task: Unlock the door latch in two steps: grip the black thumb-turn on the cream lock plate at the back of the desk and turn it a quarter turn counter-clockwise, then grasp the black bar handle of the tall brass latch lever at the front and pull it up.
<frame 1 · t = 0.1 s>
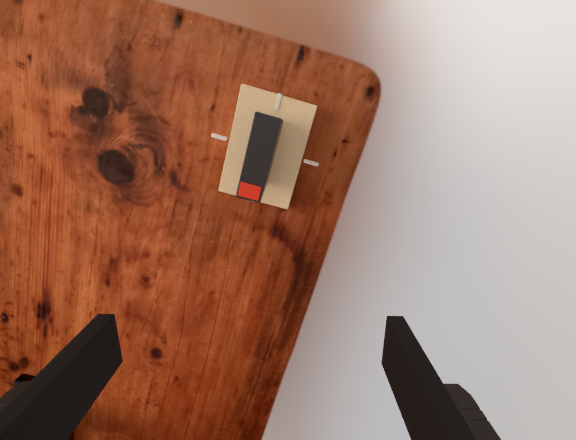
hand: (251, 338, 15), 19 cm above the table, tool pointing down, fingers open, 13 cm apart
lock plate: (267, 148, 31), on the table
thumbturn: (262, 154, 25), point 6 cm above the table, hinge at 0.0°
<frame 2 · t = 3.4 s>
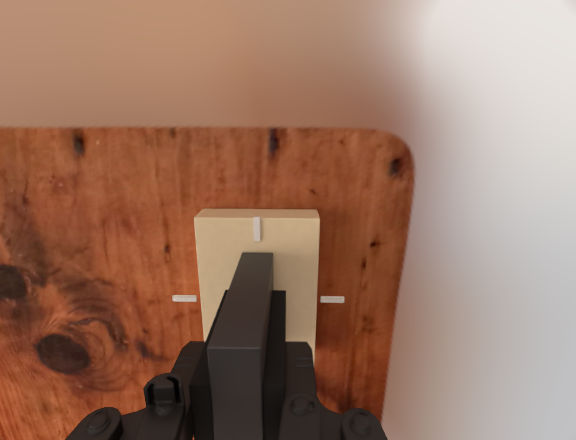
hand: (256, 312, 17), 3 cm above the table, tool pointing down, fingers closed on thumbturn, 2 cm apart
lock plate: (261, 282, 21), on the table
thumbturn: (250, 345, 15), point 6 cm above the table, hinge at 0.0°, touching gripper
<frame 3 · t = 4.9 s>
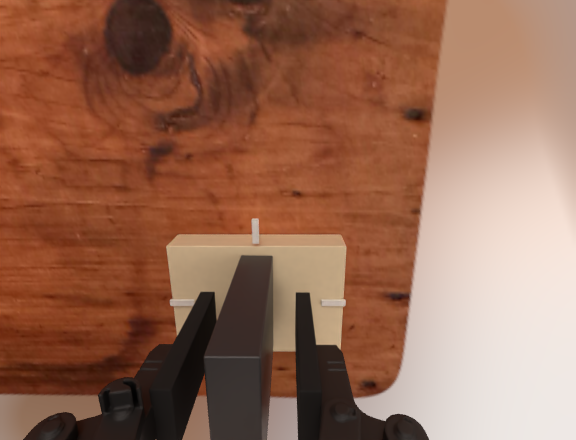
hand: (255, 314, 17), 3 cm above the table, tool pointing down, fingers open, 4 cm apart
lock plate: (260, 285, 20), on the table
thumbturn: (249, 351, 14), point 6 cm above the table, hinge at 89.5°
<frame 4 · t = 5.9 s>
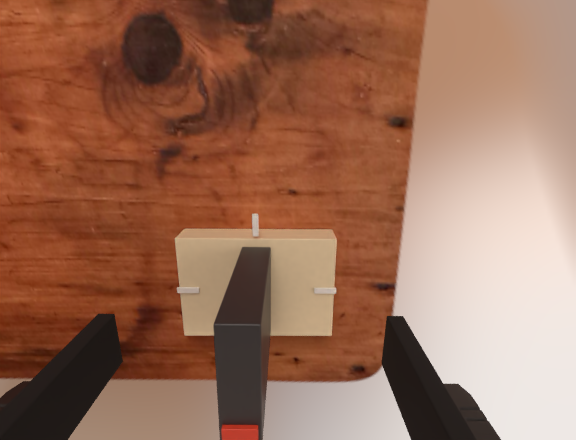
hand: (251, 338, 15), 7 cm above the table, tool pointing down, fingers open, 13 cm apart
lock plate: (259, 275, 22), on the table
thumbturn: (249, 329, 16), point 6 cm above the table, hinge at 89.5°
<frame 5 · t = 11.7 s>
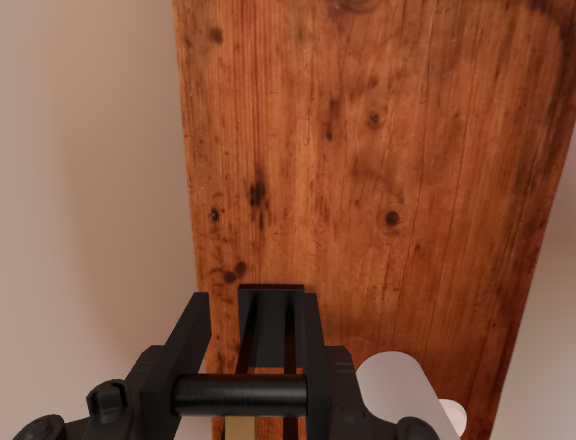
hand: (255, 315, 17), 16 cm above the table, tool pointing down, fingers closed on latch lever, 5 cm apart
figurine: (437, 419, 40), on the table
latch bracket: (272, 323, 35), on the table
light grey cylinder: (388, 378, 38), on the table
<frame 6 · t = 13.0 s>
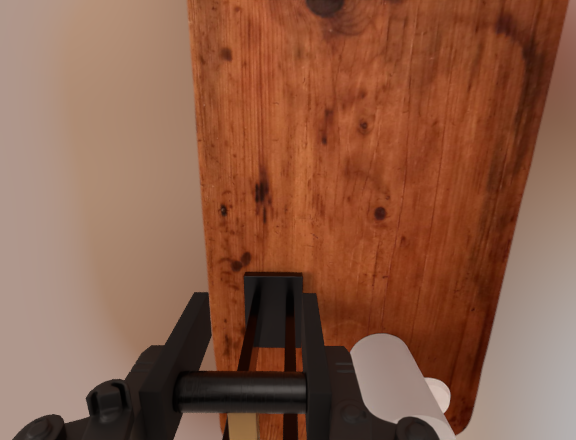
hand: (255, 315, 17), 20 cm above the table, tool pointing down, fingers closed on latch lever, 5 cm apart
figurine: (423, 397, 44), on the table
latch bracket: (273, 308, 40), on the table
light grey cylinder: (378, 358, 42), on the table
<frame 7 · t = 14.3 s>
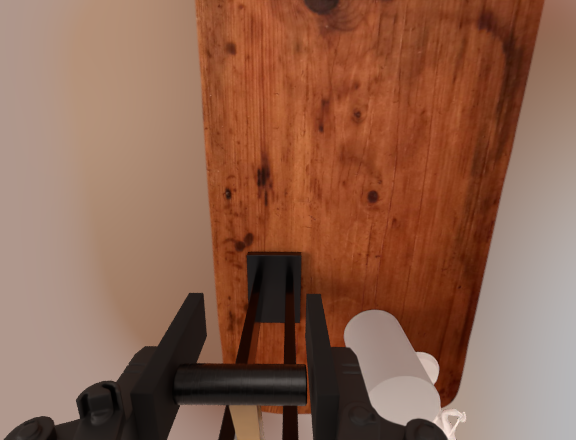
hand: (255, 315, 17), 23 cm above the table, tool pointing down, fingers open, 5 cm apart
figurine: (414, 370, 47), on the table
latch bracket: (274, 285, 43), on the table
light grey cylinder: (372, 333, 45), on the table
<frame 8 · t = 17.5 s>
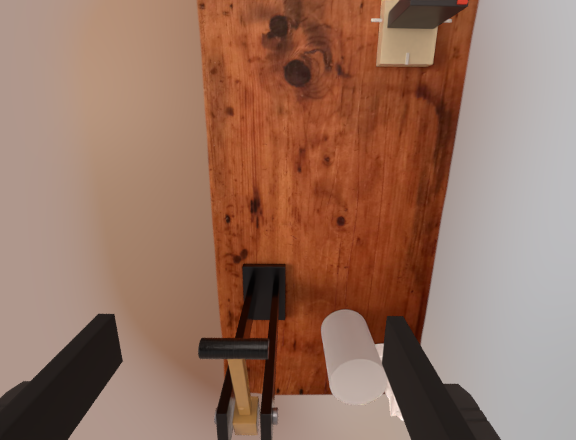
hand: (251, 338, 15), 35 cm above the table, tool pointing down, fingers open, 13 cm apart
latch lever: (241, 388, 27), point 26 cm above the table, hinge at 20.5°
figurine: (379, 359, 58), on the table
latch bracket: (264, 290, 53), on the table
lock plate: (405, 25, 42), on the table
light grey cylinder: (343, 328, 56), on the table
thumbturn: (424, 9, 36), point 6 cm above the table, hinge at 89.5°
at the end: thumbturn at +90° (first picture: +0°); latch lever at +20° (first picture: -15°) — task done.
